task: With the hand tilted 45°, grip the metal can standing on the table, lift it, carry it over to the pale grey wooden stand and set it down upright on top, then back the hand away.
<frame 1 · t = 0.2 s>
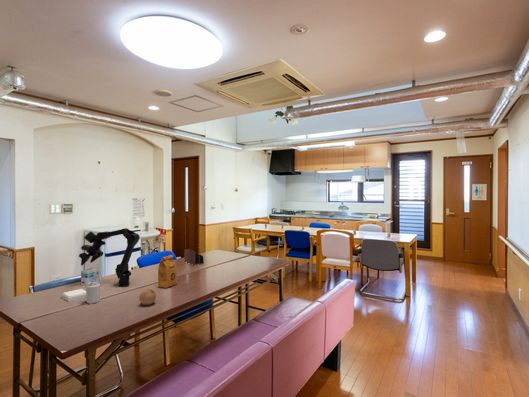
hand: (86, 263, 223), 15 cm above the table, tool tilted 35°, fingers open, 9 cm apart
light bulb box: (90, 283, 224), on the table
stand: (75, 297, 194), on the table
letter holder: (193, 263, 290), on the table
can: (93, 302, 185), on the table
onion: (147, 304, 181), on the table
coffee package: (167, 286, 217), on the table
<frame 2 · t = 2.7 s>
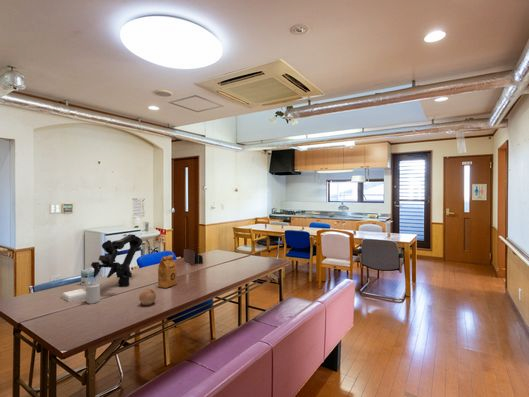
hand: (100, 277, 192), 13 cm above the table, tool tilted 45°, fingers open, 9 cm apart
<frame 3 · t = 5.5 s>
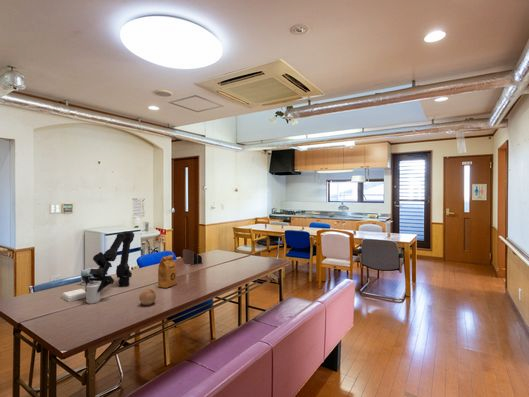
hand: (91, 292, 183), 7 cm above the table, tool tilted 45°, fingers closed on can, 7 cm apart
can: (93, 302, 185), on the table, touching gripper
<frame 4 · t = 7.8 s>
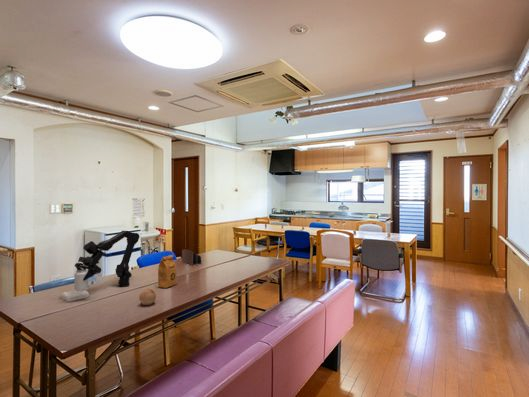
hand: (79, 279, 187), 13 cm above the table, tool tilted 45°, fingers closed on can, 7 cm apart
can: (81, 289, 188), point 6 cm above the table, touching gripper
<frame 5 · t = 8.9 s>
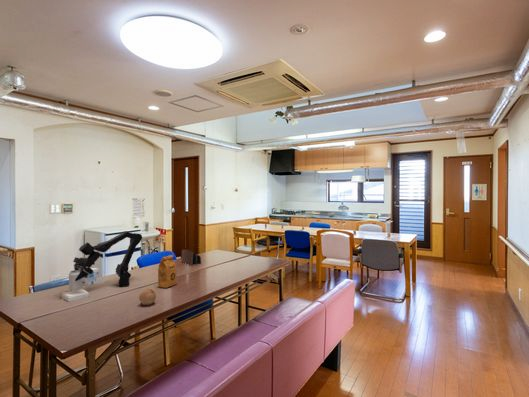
hand: (73, 279, 193), 12 cm above the table, tool tilted 45°, fingers closed on can, 7 cm apart
can: (75, 289, 194), point 5 cm above the table, touching gripper
when the fingers open (11 cm above the table, at t = 10.0 s): can drops 1 cm, resting on stand.
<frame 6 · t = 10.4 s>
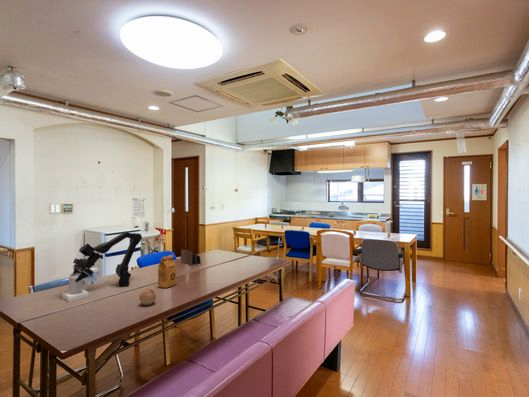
hand: (72, 280, 193), 11 cm above the table, tool tilted 45°, fingers open, 9 cm apart
can: (75, 292, 194), point 3 cm above the table, touching stand
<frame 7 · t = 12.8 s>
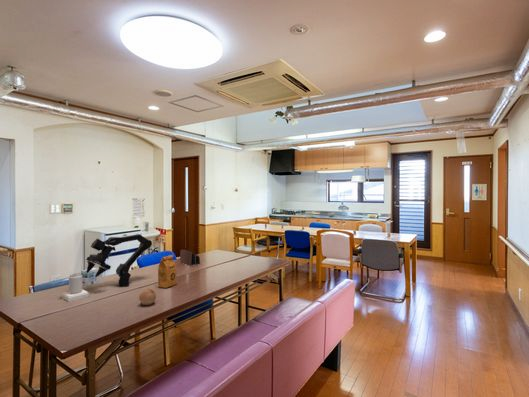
hand: (91, 274, 203), 12 cm above the table, tool tilted 35°, fingers open, 9 cm apart
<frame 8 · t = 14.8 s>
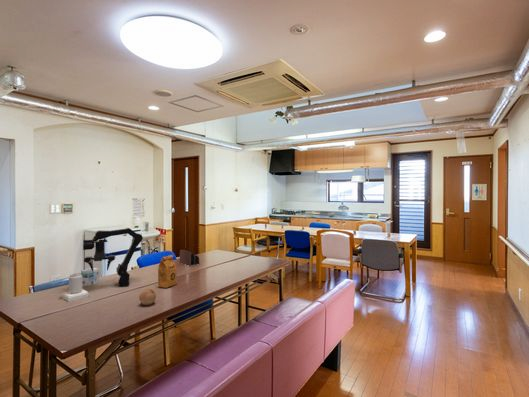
hand: (100, 270, 210), 13 cm above the table, tool pointing down, fingers open, 9 cm apart
at the end: can inside the target area on the stand (0.1 cm from its centre), point 2.8 cm above the stand's base; can tilted 0°; the gripper is holding nothing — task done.
